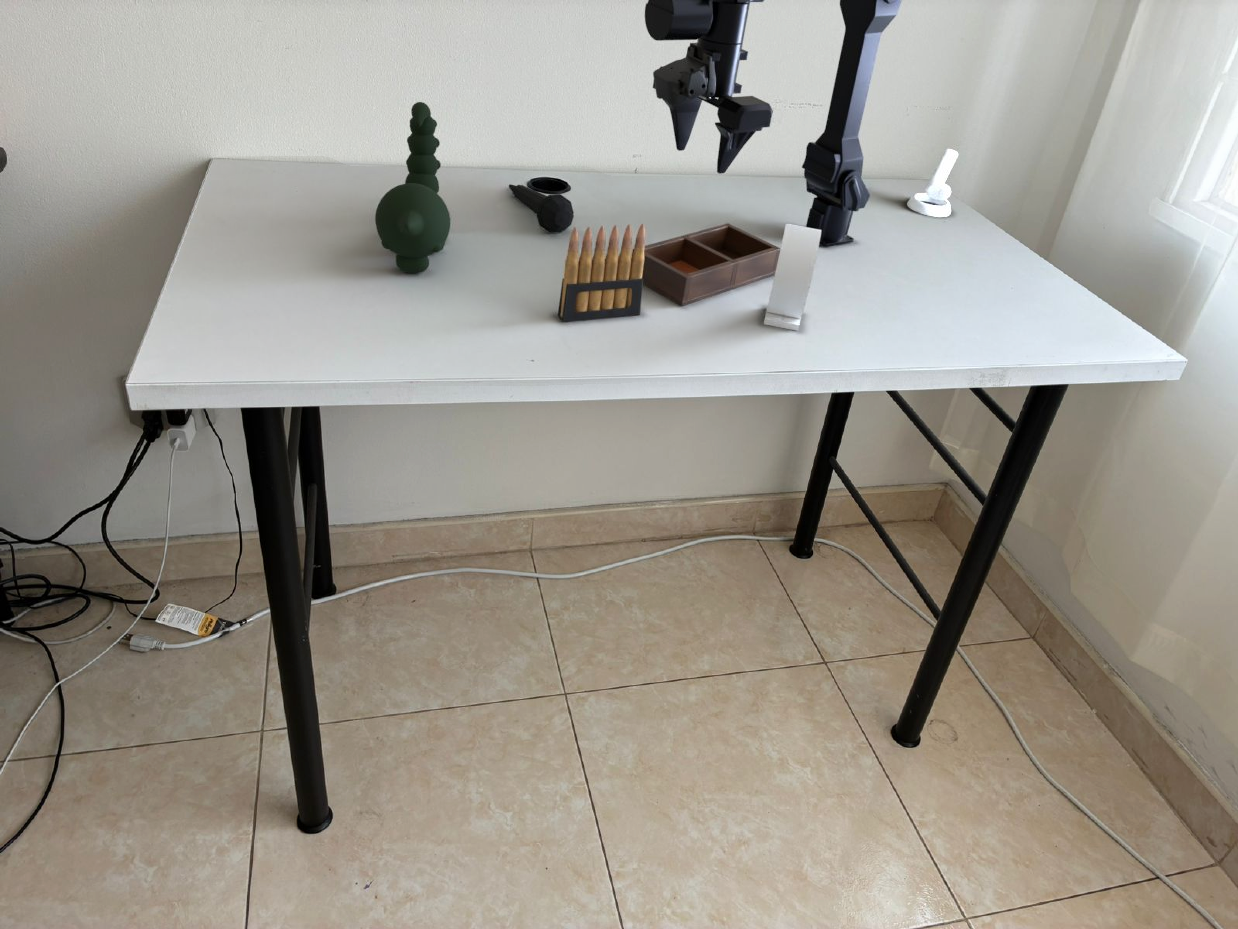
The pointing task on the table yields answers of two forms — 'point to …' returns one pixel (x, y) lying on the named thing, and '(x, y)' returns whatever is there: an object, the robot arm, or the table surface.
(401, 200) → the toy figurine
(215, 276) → the table surface
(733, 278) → the divided wooden tray
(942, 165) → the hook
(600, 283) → the ammunition clip
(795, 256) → the headphone stand
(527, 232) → the table surface
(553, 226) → the microphone
